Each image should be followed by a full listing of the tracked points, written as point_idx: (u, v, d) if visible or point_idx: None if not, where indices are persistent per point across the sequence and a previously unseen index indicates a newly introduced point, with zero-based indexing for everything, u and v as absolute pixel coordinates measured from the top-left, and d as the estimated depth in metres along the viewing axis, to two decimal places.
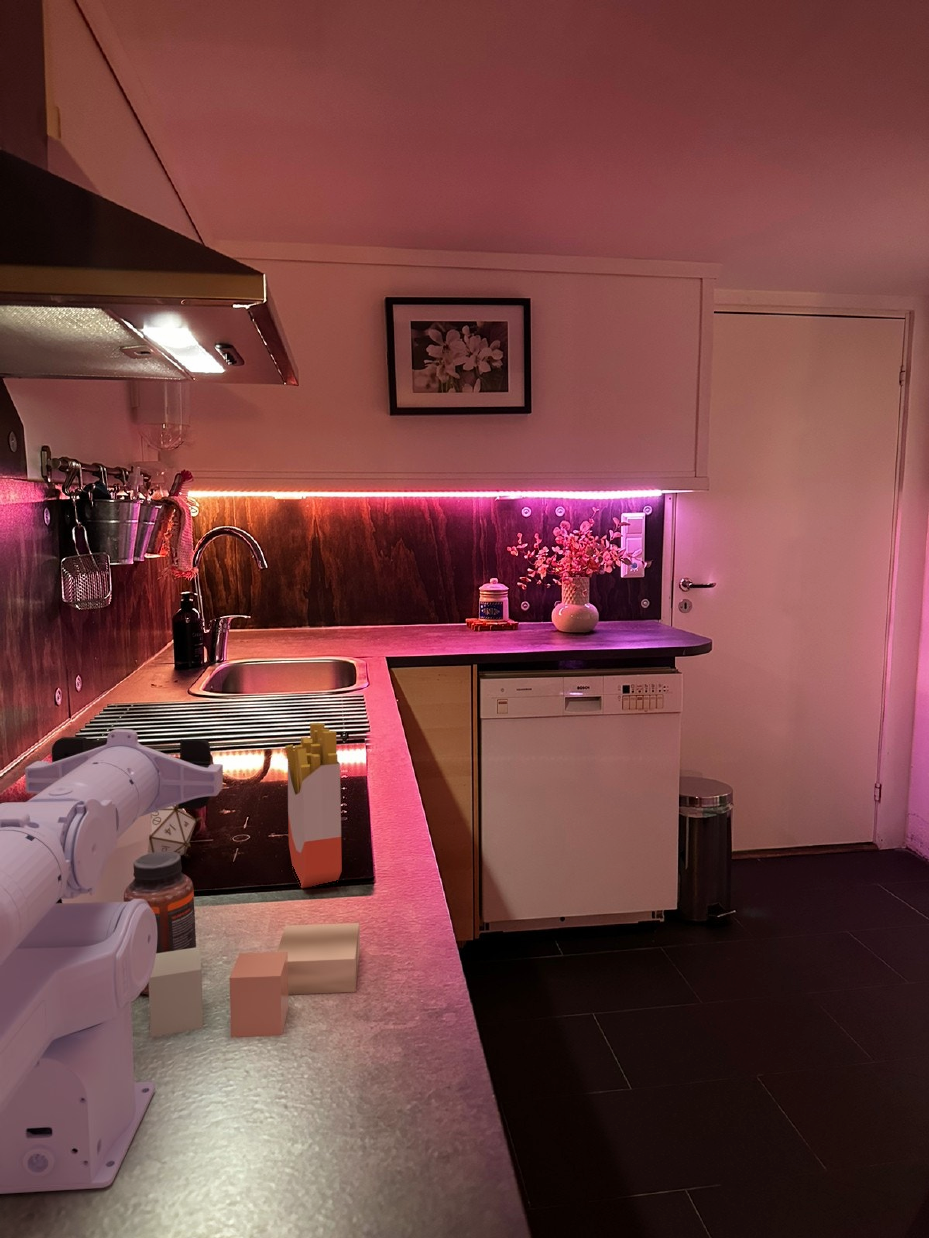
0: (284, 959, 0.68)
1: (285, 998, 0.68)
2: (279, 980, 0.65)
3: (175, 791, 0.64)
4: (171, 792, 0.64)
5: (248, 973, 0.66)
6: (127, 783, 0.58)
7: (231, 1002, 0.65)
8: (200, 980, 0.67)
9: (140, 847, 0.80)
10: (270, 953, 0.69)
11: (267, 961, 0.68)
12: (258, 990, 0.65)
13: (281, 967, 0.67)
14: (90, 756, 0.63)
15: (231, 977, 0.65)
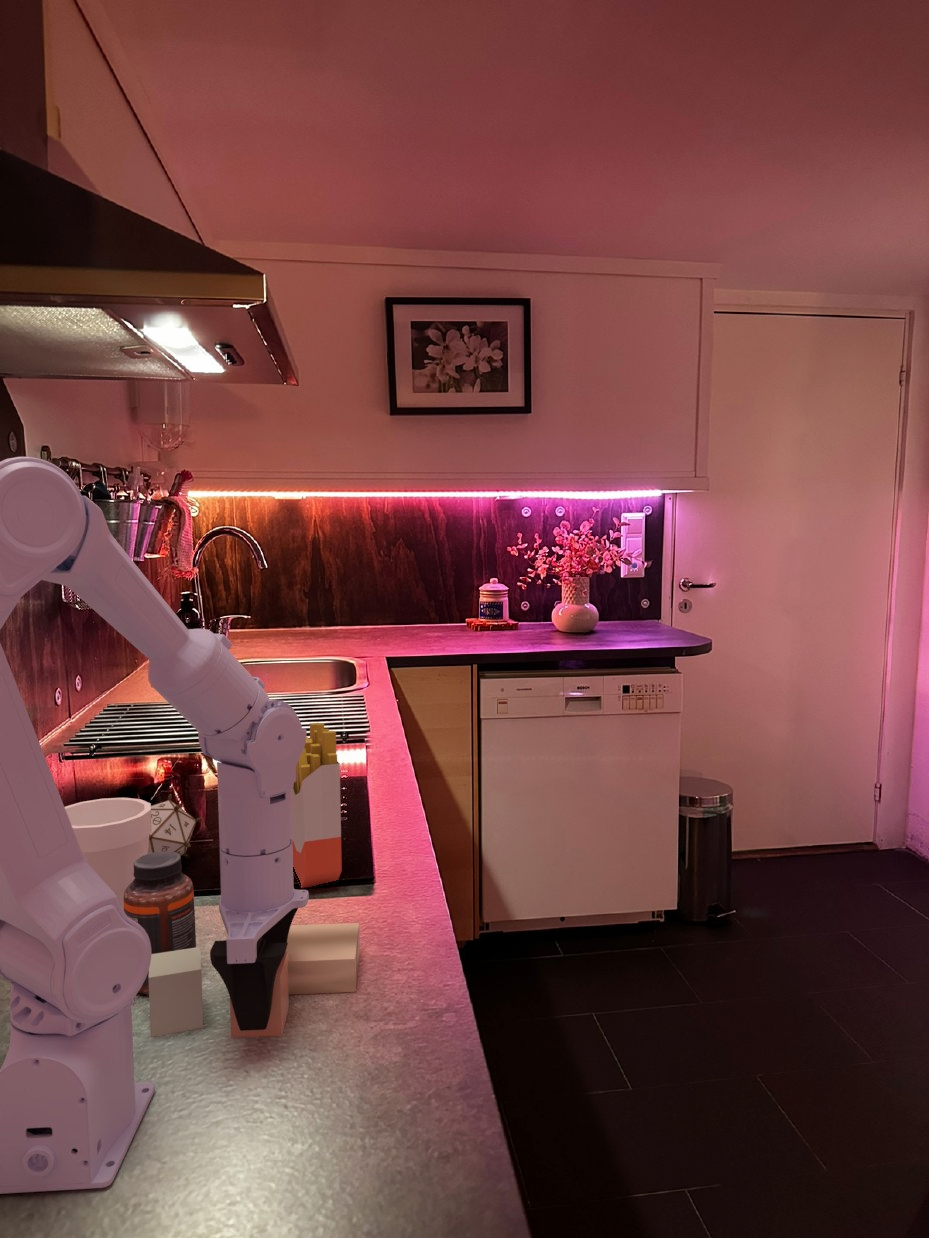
0: (284, 959, 0.68)
1: (285, 998, 0.68)
2: (279, 980, 0.65)
3: None
4: None
5: None
6: (290, 833, 0.66)
7: (231, 1002, 0.65)
8: (200, 980, 0.67)
9: (140, 847, 0.80)
10: None
11: None
12: None
13: (281, 967, 0.67)
14: None
15: None
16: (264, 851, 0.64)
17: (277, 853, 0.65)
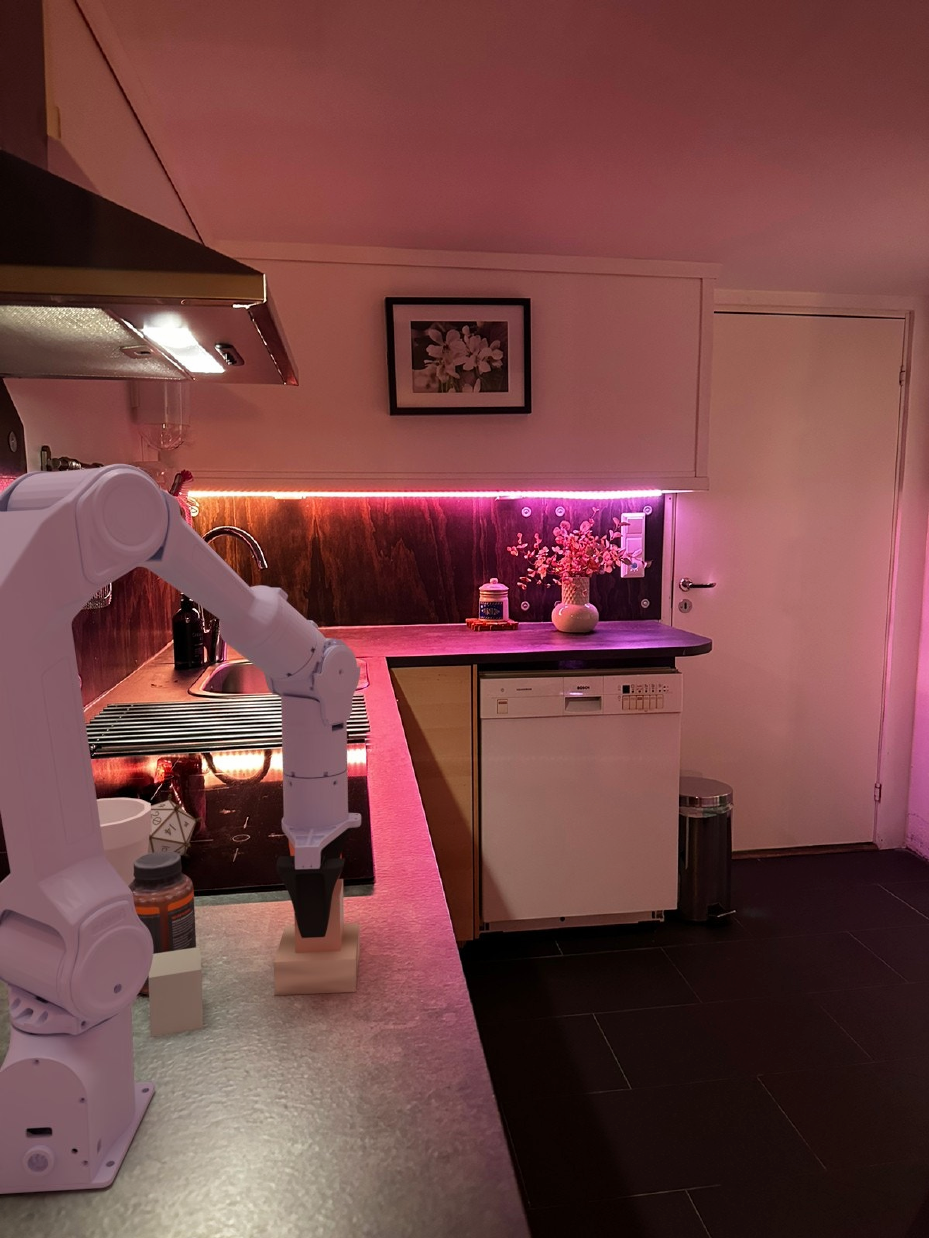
0: (341, 884, 0.76)
1: (342, 919, 0.75)
2: (338, 900, 0.73)
3: None
4: None
5: None
6: (346, 759, 0.74)
7: (295, 920, 0.73)
8: (200, 980, 0.67)
9: (140, 847, 0.80)
10: None
11: None
12: None
13: (339, 890, 0.74)
14: None
15: None
16: (326, 774, 0.72)
17: (335, 776, 0.72)
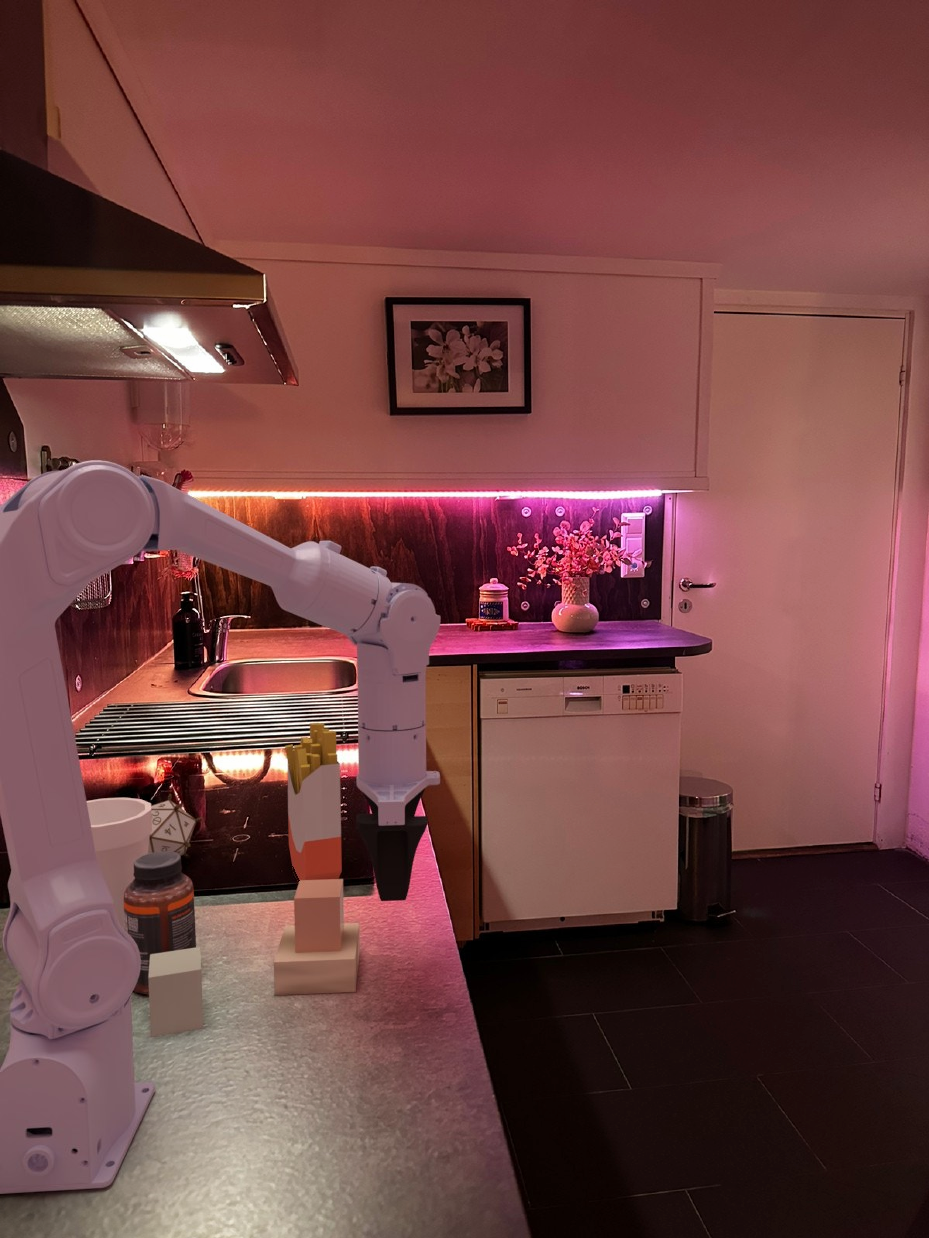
0: (341, 884, 0.76)
1: (342, 919, 0.75)
2: (338, 900, 0.73)
3: None
4: None
5: (310, 894, 0.73)
6: (423, 715, 0.68)
7: (295, 920, 0.73)
8: (200, 980, 0.67)
9: (140, 847, 0.80)
10: (327, 880, 0.77)
11: (326, 886, 0.75)
12: (319, 910, 0.73)
13: (339, 890, 0.74)
14: None
15: (295, 898, 0.73)
16: (396, 728, 0.67)
17: (415, 730, 0.68)
